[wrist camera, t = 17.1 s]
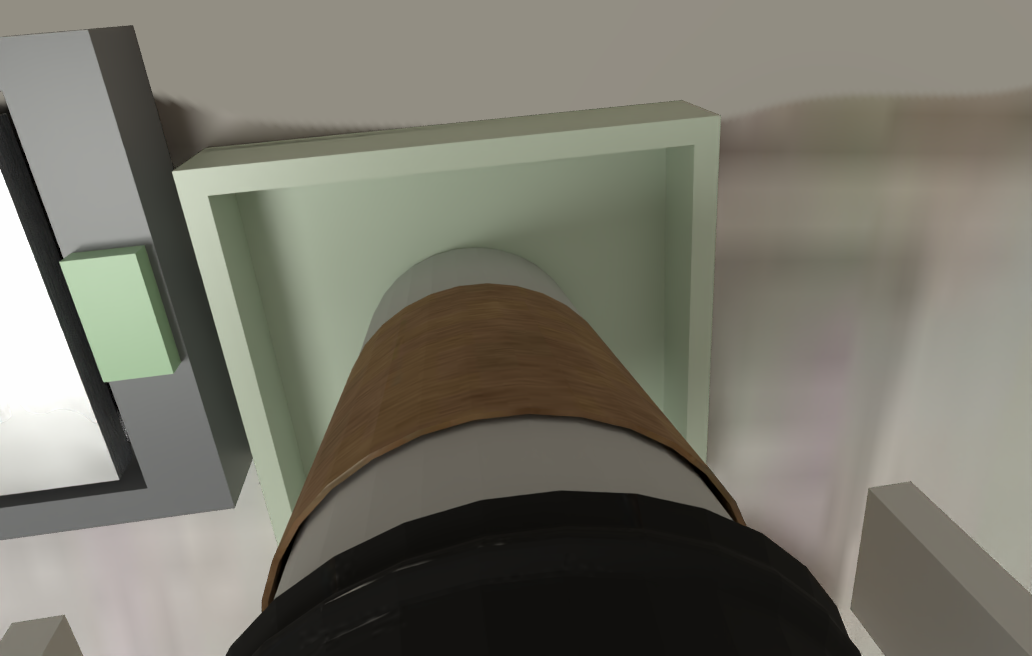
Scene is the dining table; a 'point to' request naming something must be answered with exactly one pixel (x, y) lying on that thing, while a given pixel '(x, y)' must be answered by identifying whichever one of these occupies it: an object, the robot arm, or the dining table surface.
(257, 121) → the dining table surface
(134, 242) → the frame
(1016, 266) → the dining table surface
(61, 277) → the plate
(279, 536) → the green square tray
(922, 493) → the robot arm
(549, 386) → the coffee cup
